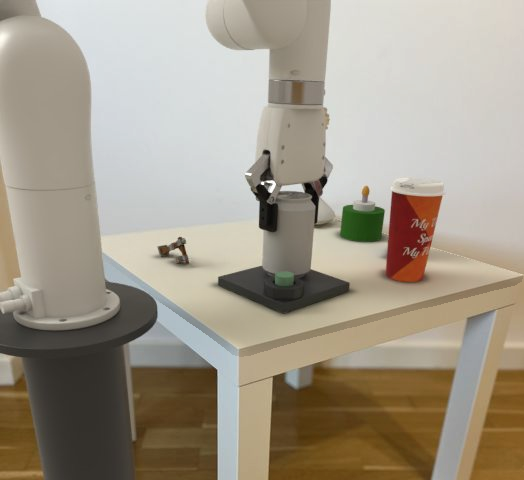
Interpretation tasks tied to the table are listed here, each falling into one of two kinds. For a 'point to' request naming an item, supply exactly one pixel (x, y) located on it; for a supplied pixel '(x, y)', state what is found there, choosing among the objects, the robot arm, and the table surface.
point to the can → (290, 235)
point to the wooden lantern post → (179, 244)
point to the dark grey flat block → (283, 288)
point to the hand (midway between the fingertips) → (288, 225)
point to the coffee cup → (412, 226)
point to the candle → (362, 220)
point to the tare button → (284, 278)
